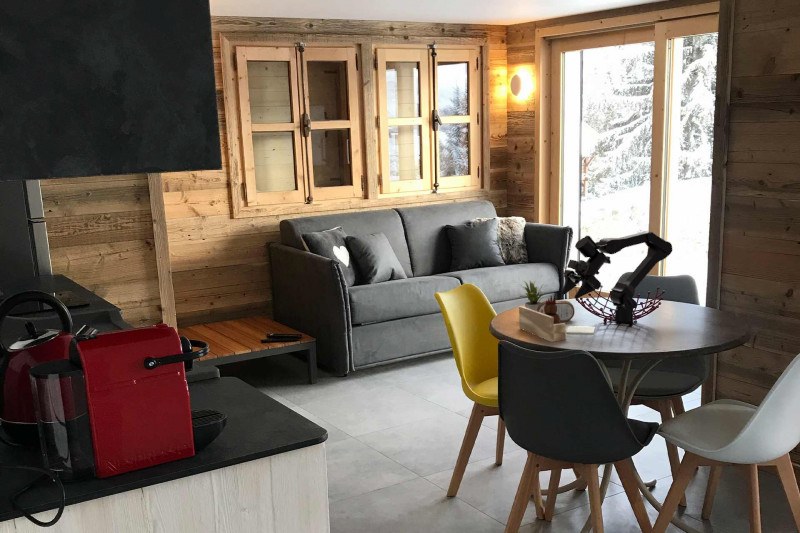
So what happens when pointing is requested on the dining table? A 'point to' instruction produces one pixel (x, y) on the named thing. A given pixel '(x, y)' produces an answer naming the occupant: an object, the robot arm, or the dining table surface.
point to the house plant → (532, 296)
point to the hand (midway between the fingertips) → (568, 296)
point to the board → (580, 330)
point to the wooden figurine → (552, 309)
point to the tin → (560, 310)
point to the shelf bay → (541, 325)
